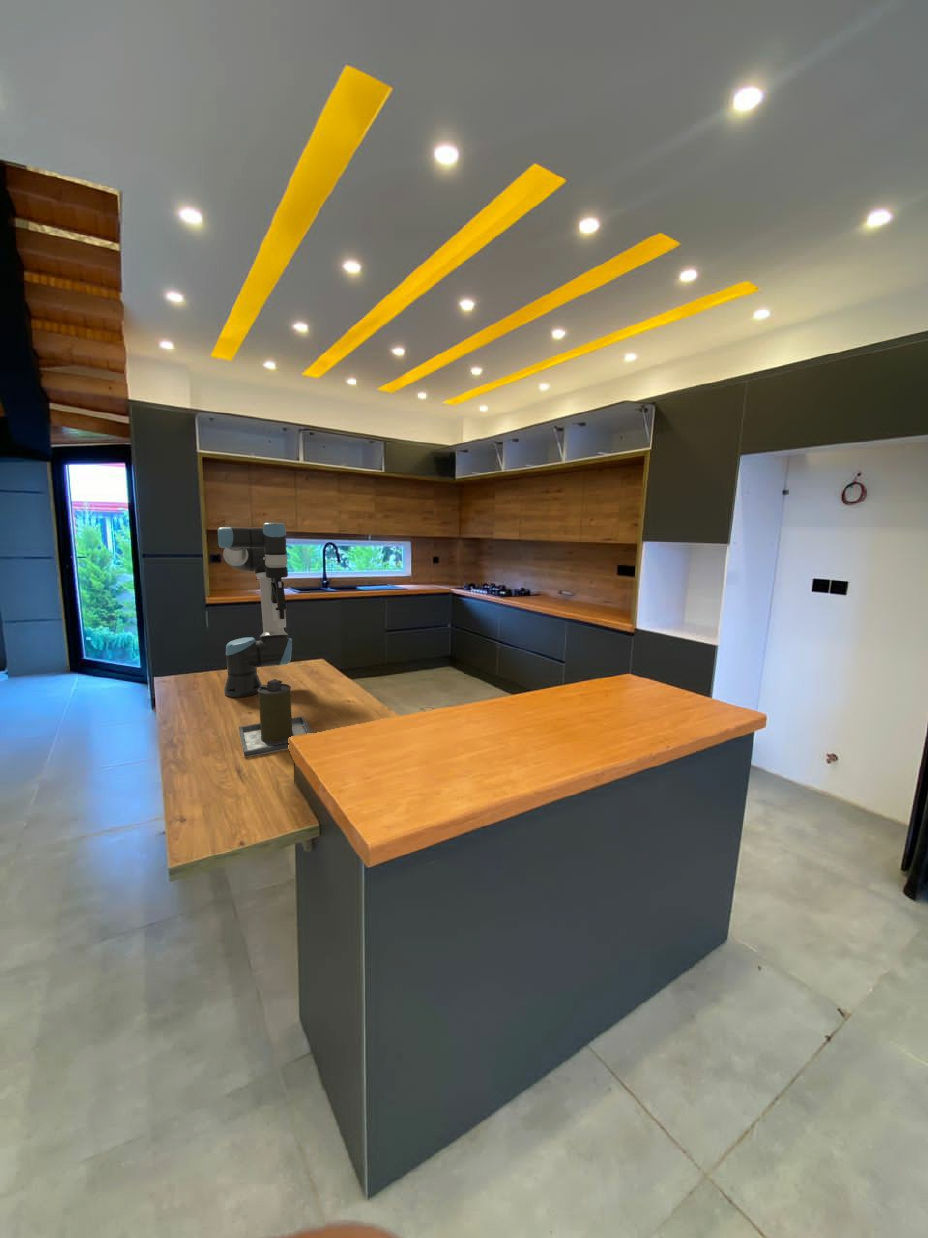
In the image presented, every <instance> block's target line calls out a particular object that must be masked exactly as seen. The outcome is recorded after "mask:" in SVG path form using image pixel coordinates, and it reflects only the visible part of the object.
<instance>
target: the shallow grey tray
mask: <svg viewBox="0 0 928 1238" xmlns="http://www.w3.org/2000/svg"><path fill="white" fill-rule="evenodd" d="M292 732H293V736H295V735H300V734H307V733H313V734H314V732H313V731H312V728H311V727H310V725H309V723H308V722H307V720H306V718H305V715H304V716H297V717H292ZM238 734H239V737H240V742H241V747H242V752H243V757H244V758H251V757H255V756H261V755H265V754H270V753H276V752H283V751H286V750H289V749H288V745H289V743H288V740H286V741H282V742H278V743H267V742H264V741H262V740H261V725H260V722H258V723H254V724H246V725H241V726H238Z"/></svg>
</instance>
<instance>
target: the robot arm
mask: <svg viewBox="0 0 928 1238" xmlns="http://www.w3.org/2000/svg"><path fill="white" fill-rule="evenodd" d="M217 540H218V541H217V542H218V546H219V548H221V549H223V552H222V556H223V560H224V562H225V563H226V564H227V565H228V566H229V567H231V568H234V569H236V570H239V571H241V572H255V573H254V574H255V577H256V578H257V579H258V580H259V590H260V592H259V594H260V605H261V616H262V617H261V618H262V620H261V621H262V631H263V632H262V634H260V635H259V640H256V638H254V637H253V636H250V637H247V636H246V637H241V638H237V639H234V640H231V641H229V642H227V644H225V656H226V657H225V658H226V668H227V670H226V671H227V678H226V681H225V685H224V689H223V690H224V695H225V696H226V697H228V698H245V697H251V696H254V695H259V694H258V689H259V686H261V685H263V684H262V681H261V679H260V677H259V675H258V670H257V668H263V667H264V668H265V667H273V666H274V667H276V666H283V665H284V666H285V665H288V664H289V663H291V659H292V651H293V639H292V638H291V637H289V634H288V633H287V632H286V630H285V629H284V628H287V617H286V616H287V615H286V614H287V613H286V609H287V602H286V595H285V583H284V581H282V578H288V576H289V571H288V567H287V566H288V554H287V553H288V552H287V531H286V525H285V523H282V522H281V523H280V522H265V523H263V525H262V527H244V526H243V527H241V526H240V527H237V526H235V527H233V526H231V527H230V526H224V527H222V526H221V527H218V529H217Z"/></svg>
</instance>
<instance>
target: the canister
mask: <svg viewBox="0 0 928 1238" xmlns="http://www.w3.org/2000/svg"><path fill="white" fill-rule="evenodd" d="M291 689H292V687H291V685H290V684H286V683H283V680H281V679H280V680H278V679H276V678H275V679H274V678H273V679H271V680H268V681H267V682H266V684H262V685H261V686H259V689H258V694H257V695H258V707H259V721H260V722H259V723H260V725H261V740H262V741H264V742H267V743H278V742H282V741H286V740H288V738H289V737H291V736H293V732H292V718H293V715H292V699H291V697H292V695H291Z"/></svg>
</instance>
